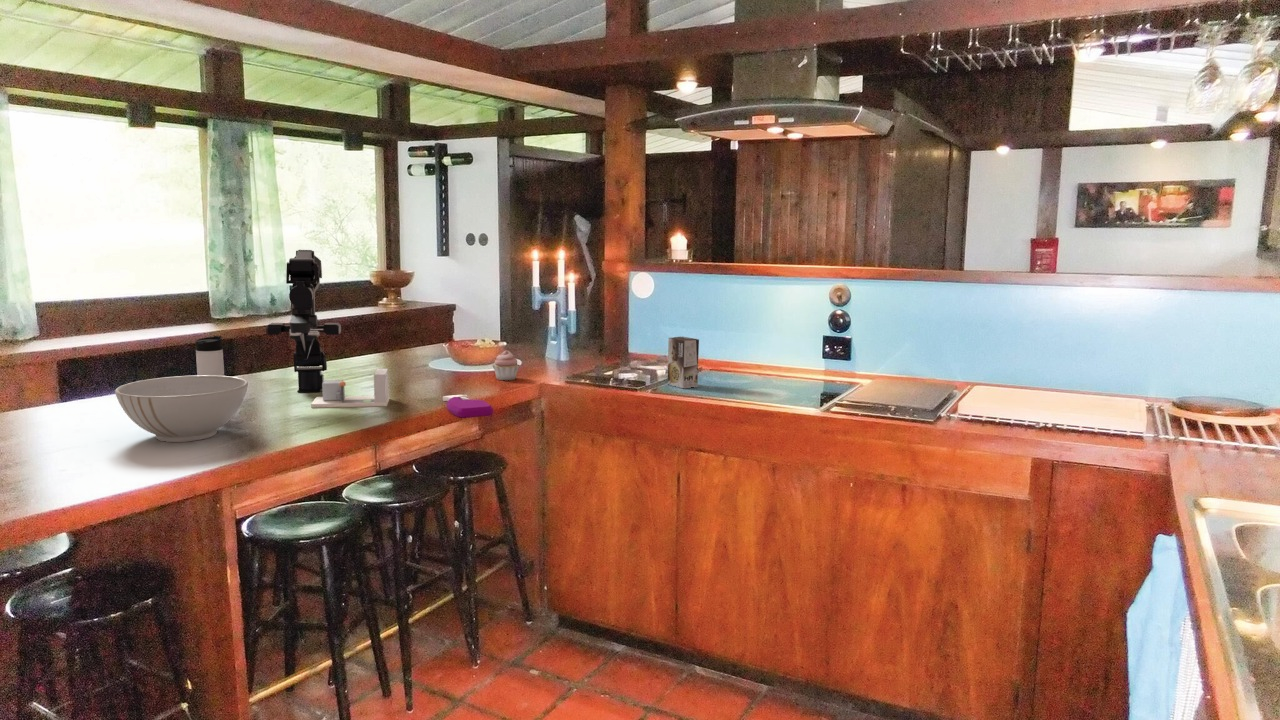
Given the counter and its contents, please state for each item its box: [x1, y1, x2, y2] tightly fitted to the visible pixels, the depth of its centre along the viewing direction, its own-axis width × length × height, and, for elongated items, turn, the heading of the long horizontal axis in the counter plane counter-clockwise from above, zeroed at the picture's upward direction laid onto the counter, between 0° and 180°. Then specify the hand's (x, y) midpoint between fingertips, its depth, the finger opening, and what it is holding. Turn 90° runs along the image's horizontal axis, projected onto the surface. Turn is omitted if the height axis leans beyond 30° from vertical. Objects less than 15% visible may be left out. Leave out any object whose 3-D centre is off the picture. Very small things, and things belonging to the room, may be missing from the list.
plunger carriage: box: [321, 379, 344, 400], centre depth 224 cm, size 5×8×5 cm, turn 14°
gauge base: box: [310, 368, 390, 409], centre depth 225 cm, size 20×10×9 cm, turn 104°
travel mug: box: [195, 335, 225, 376], centre depth 210 cm, size 6×7×20 cm
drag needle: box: [340, 380, 347, 401], centre depth 223 cm, size 2×2×5 cm
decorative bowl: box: [114, 374, 249, 443], centre depth 186 cm, size 27×27×12 cm
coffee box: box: [667, 336, 700, 389], centre depth 264 cm, size 9×6×16 cm
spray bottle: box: [442, 394, 494, 419], centre depth 224 cm, size 3×11×25 cm
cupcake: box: [491, 349, 521, 381], centre depth 269 cm, size 9×9×10 cm
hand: (305, 359), depth 223 cm, fingers closed
